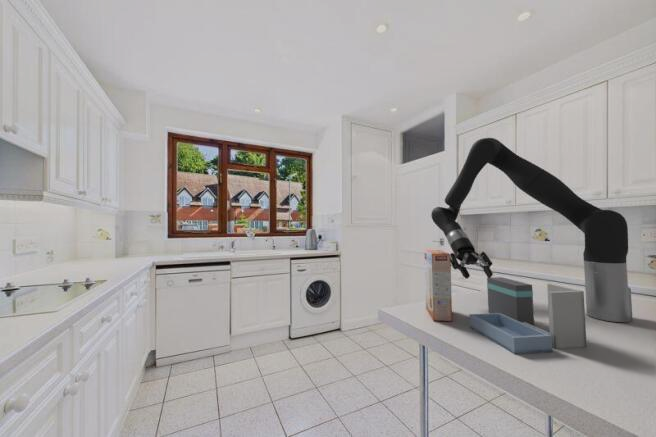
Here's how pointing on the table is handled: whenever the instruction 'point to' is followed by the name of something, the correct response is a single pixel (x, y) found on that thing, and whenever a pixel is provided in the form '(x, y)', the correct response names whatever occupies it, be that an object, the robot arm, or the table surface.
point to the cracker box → (438, 285)
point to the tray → (511, 333)
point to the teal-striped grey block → (511, 299)
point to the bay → (565, 317)
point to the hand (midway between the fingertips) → (479, 276)
